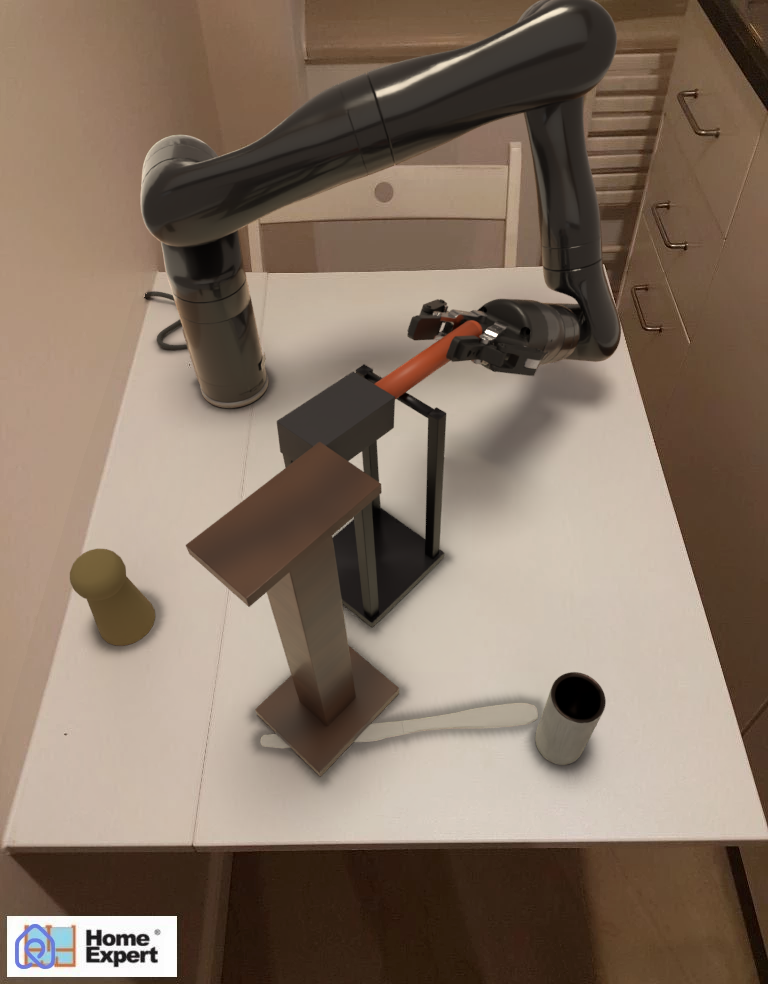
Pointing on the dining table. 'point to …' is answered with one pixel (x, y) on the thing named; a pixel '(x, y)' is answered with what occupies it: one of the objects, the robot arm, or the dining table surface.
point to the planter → (569, 717)
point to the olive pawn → (112, 597)
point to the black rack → (390, 531)
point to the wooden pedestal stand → (303, 599)
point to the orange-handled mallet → (360, 405)
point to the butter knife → (439, 723)
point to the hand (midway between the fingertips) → (432, 338)
